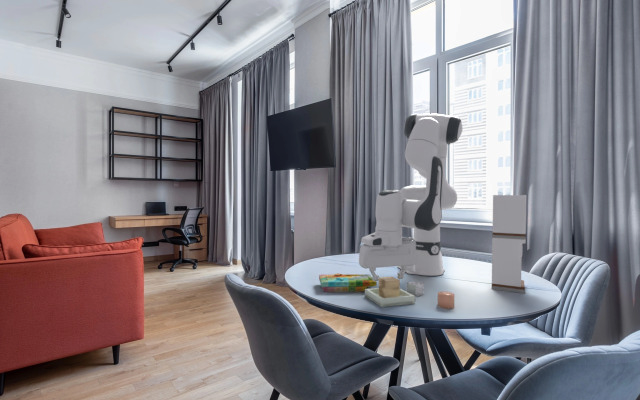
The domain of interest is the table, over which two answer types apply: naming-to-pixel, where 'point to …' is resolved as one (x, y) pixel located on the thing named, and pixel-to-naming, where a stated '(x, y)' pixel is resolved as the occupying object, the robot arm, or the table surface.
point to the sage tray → (392, 301)
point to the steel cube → (415, 288)
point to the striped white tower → (508, 242)
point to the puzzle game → (346, 282)
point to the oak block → (389, 287)
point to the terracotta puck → (446, 300)
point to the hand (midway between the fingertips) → (388, 279)
